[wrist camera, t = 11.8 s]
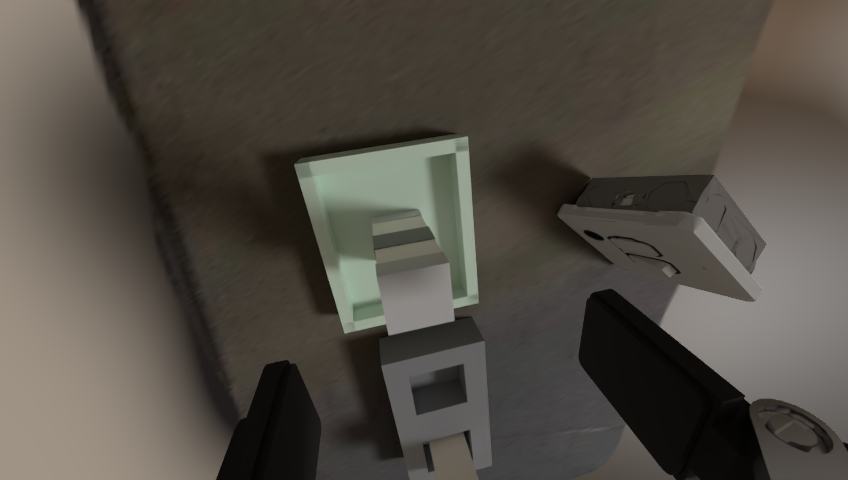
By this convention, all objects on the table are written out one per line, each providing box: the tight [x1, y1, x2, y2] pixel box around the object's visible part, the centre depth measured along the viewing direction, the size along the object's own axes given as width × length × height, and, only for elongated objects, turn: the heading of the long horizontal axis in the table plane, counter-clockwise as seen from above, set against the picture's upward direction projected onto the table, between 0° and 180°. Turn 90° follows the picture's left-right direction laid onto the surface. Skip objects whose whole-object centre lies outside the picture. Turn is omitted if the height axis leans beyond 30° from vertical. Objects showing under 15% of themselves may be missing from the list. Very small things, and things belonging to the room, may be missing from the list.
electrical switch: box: [557, 175, 766, 302], centre depth 21 cm, size 9×5×9 cm, turn 53°
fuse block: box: [379, 317, 492, 480], centre depth 28 cm, size 16×8×3 cm, turn 7°
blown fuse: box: [370, 209, 455, 335], centre depth 18 cm, size 3×3×8 cm
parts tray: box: [294, 134, 479, 333], centre depth 21 cm, size 12×10×2 cm
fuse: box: [428, 432, 478, 480], centre depth 27 cm, size 3×3×8 cm
